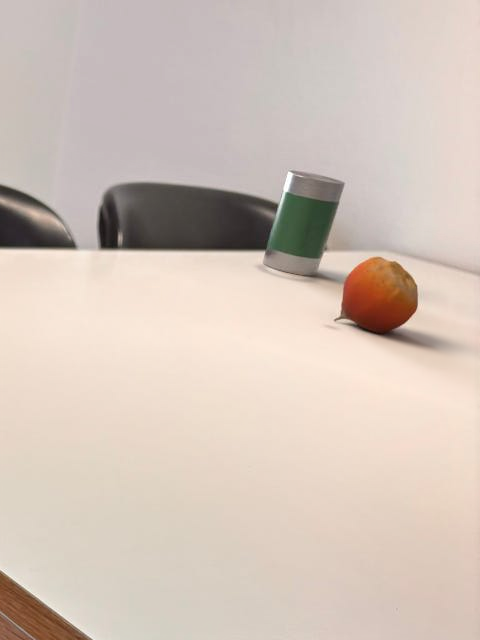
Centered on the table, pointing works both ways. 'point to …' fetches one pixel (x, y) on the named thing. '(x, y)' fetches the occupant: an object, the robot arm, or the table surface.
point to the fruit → (379, 295)
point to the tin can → (303, 223)
